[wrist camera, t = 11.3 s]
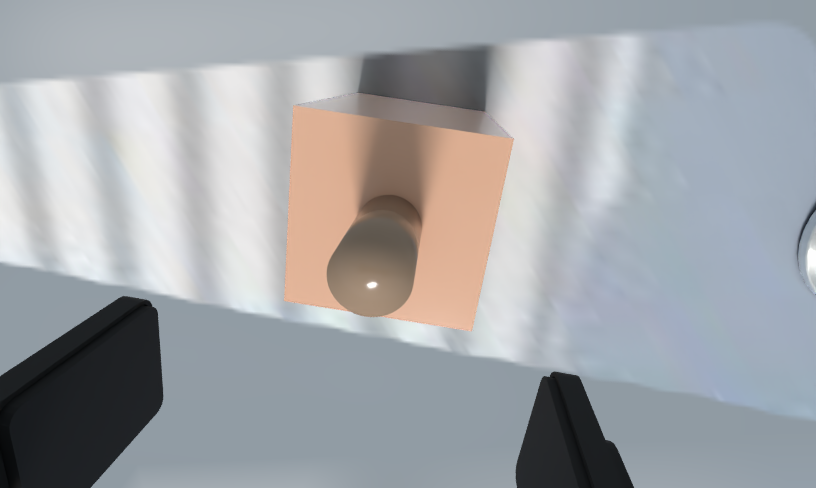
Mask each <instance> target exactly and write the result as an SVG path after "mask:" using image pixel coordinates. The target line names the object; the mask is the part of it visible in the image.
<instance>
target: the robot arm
mask: <svg viewBox="0 0 816 488" xmlns="http://www.w3.org/2000/svg"><path fill="white" fill-rule="evenodd" d="M798 262H799V269H800V272H801V275H802V277H803V280H804V282H805V283H806V285H807V286H808V287H809V289H810V290H811V291H812V292H813V293H814V294H815V295H816V211H815V212H814V213H813V214H812V216H811V218H810V219H809V221H808V223H807V225H806V227H805V229H804V231H803V234H802V237H801V241H800V244H799V253H798ZM162 402H163V384H162V369H161V354H160V339H159V326H158V312H157V310H156V308H154V307H152V304H151V303H150V301H148V300H144V299H139V298H133V297H127V296H123V297H120V298H118V299H117V300H115V301H114V302H113V303H111V304H109V305H108V306H106V307H105V308H103V309H102V310H100V311H99V312H97V313H96V314H94V315H93V316H91V317H90V318H88V319H87V320H85V321H84V322H82V323H81V324H79V325H77V326H76V327H74V328H73V329H71V330H70V331H68V332H67V333H65V334H64V335H62V336H61V337H59V338H58V339H56V340H55V341H53V342H52V343H50V344H48V345H47V346H45V347H44V348H42V349H41V350H39V351H38V352H36V353H35V354H33V355H32V356H30V357H29V358H27V359H26V360H24V361H23V362H21V363H20V364H18V365H17V366H15V367H13V368H12V369H10V370H9V371H7V372H6V373H4V374H3V375H1V376H0V488H91V487H92V485H93V484H94V483H95V482H96V481H97V480H98V479H99V477H100V476H101V475H102V474H103V473H104V472H105V471H106V470H107V469H108V467H109V466H110V465H111V464H112V463H113V462H114V461H115V460H116V458H117V457H118V456H119V455H120V454H121V453H122V452H123V451H124V449H125V448H126V447H127V446H128V445H129V444H130V443H131V442H132V441H133V439H134V438H135V437H136V436H137V435H138V434H139V433H140V431H141V430H142V429H143V428H144V427H145V426H146V425H147V424H148V423H149V421H150V420H151V419H152V418H153V417H154V416H155V415H156V414H157V412H158V411H159V409H160V407H161V405H162ZM516 483H517V488H634V486H633V484H632V482H631V480H630V477H629V475H628V473H627V470H626V468H625V466H624V463H623V461H622V459H621V456H620V454H619V453H618V450H617V448H616V446H615V445H614V443H612V442H611V441H608V440H605V438H604V436H603V433H602V431H601V428H600V426H599V423H598V421H597V418H596V416H595V414H594V411H593V409H592V406H591V404H590V401H589V399H588V397H587V394H586V392H585V389H584V387H583V384H582V382H581V380H580V378H579V376H577V375H571V374H565V373H560V372H552V373H551V375H550V377H546V376H544V377H543V378H542V380H541V382H540V386H539V389H538V393H537V396H536V399H535V403H534V406H533V410H532V413H531V416H530V420H529V424H528V427H527V430H526V434H525V437H524V440H523V444H522V447H521V450H520V454H519V457H518V461H517V465H516Z"/></svg>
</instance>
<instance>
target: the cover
mask: <svg viewBox="0 0 816 488" xmlns="http://www.w3.org/2000/svg"><path fill="white" fill-rule="evenodd" d="M513 140H514V138H512V137H511V136H510V135H509V134H508V133H507V132H506V131H505V130H504V129H503V128H502V127H501V126H500V125H499V124H498V123H497V122H496V121H495V120H493V119H492V118H491V117H490V116H489V115H488V114H487V113H486V112H484V111H478V110H471V109H464V108H458V107H451V106H444V105H438V104H431V103H424V102H418V101H411V100H404V99H398V98H391V97H384V96H378V95H371V94H364V93H353V94H348V95H343V96H338V97H333V98H328V99H323V100H318V101H313V102H308V103H303V104H298V105H293V123H292V145H291V167H290V188H289V210H288V232H287V253H286V275H285V297H284V301H288V302H294V303H300V304H306V305H313V306H319V307H325V308H331V309H337V310H343V311H350V312H353V313H355V314H358V315H361V316H366V317H387V318H393V319H399V320H405V321H411V322H417V323H424V324H430V325H436V326H442V327H448V328H454V329H461V330H467V331H472V328H473V324H474V319H475V315H476V310H477V305H478V301H479V296H480V292H481V287H482V282H483V278H484V273H485V269H486V264H487V260H488V255H489V250H490V246H491V241H492V237H493V232H494V227H495V223H496V218H497V214H498V209H499V205H500V200H501V195H502V191H503V186H504V182H505V177H506V172H507V168H508V163H509V159H510V154H511V150H512V145H513Z"/></svg>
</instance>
